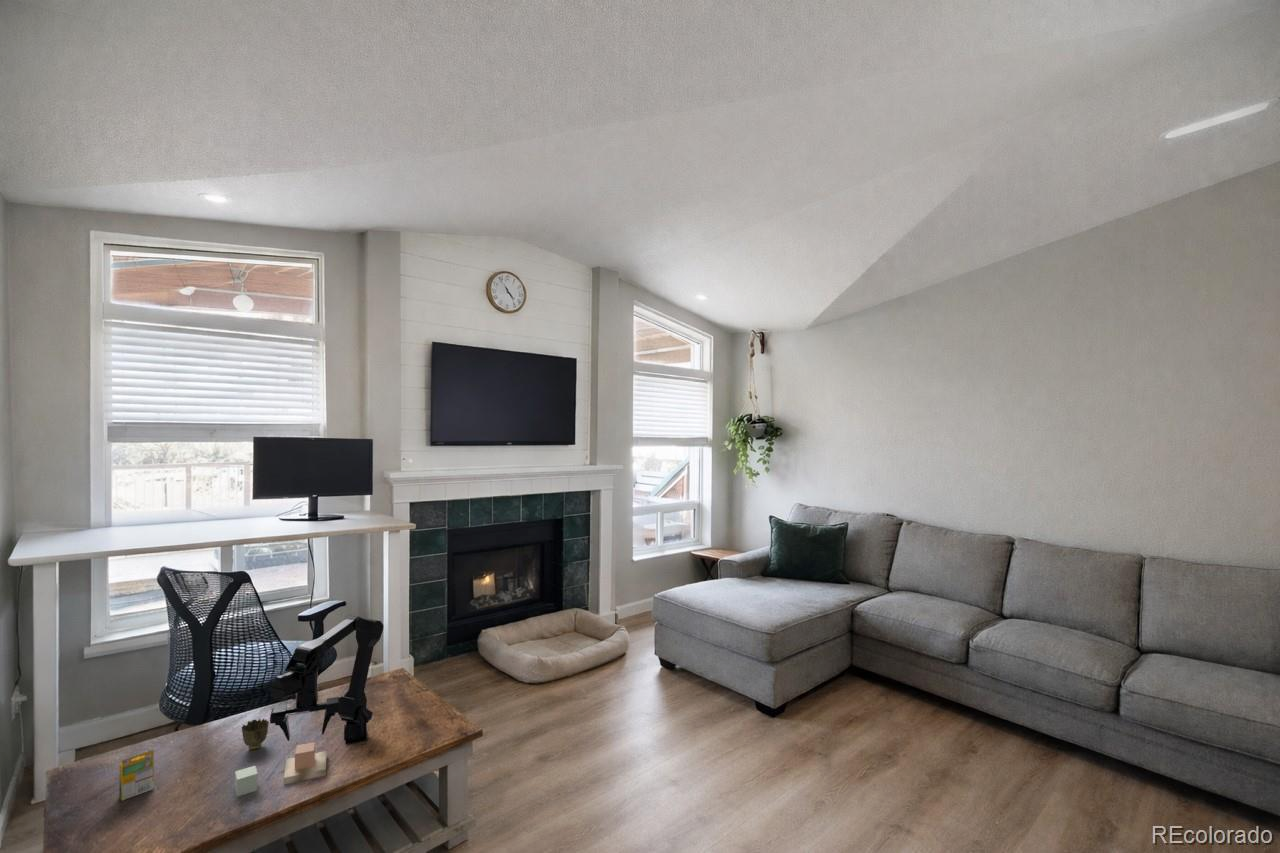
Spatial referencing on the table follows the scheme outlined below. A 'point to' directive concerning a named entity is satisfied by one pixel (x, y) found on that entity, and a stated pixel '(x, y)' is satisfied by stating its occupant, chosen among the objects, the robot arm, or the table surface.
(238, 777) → the sage cube
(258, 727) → the cup
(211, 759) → the table surface
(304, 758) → the terracotta cube
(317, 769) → the plinth
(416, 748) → the table surface
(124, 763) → the crayon box
